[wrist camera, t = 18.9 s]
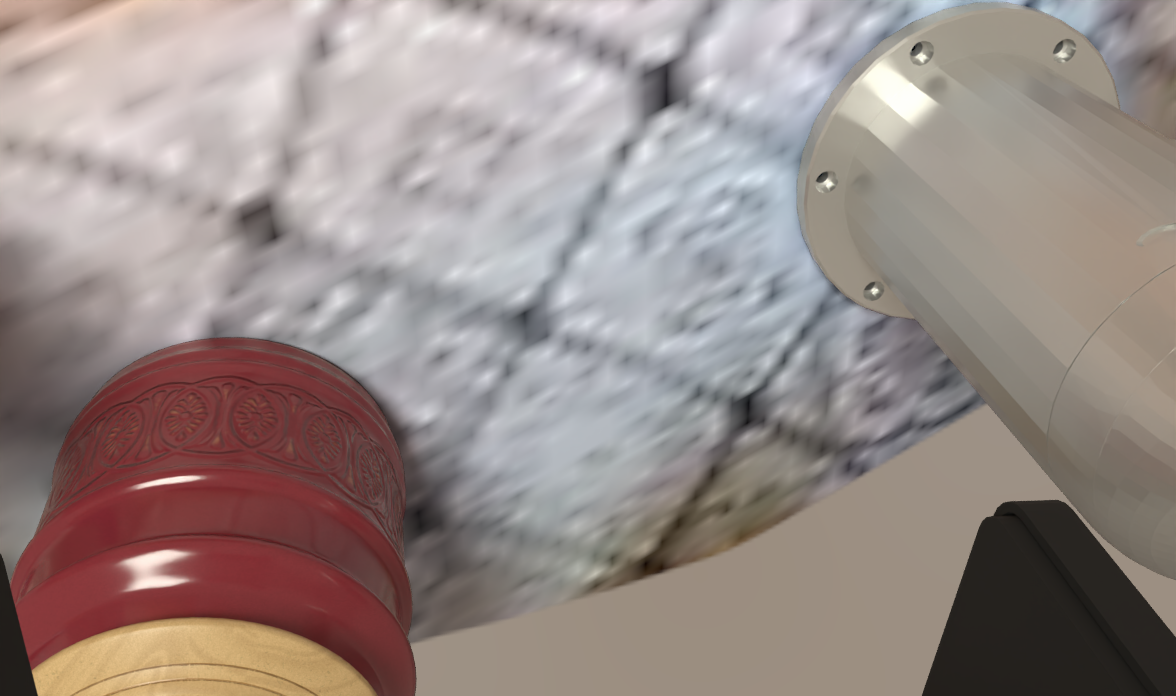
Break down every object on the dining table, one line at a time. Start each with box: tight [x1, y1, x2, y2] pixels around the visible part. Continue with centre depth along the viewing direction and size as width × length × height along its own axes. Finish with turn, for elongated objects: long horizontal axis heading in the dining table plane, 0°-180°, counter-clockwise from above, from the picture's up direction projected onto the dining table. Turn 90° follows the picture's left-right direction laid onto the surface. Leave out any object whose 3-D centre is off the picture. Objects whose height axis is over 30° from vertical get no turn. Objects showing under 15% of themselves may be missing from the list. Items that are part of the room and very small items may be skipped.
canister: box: [10, 338, 416, 696], centre depth 37 cm, size 13×13×18 cm
